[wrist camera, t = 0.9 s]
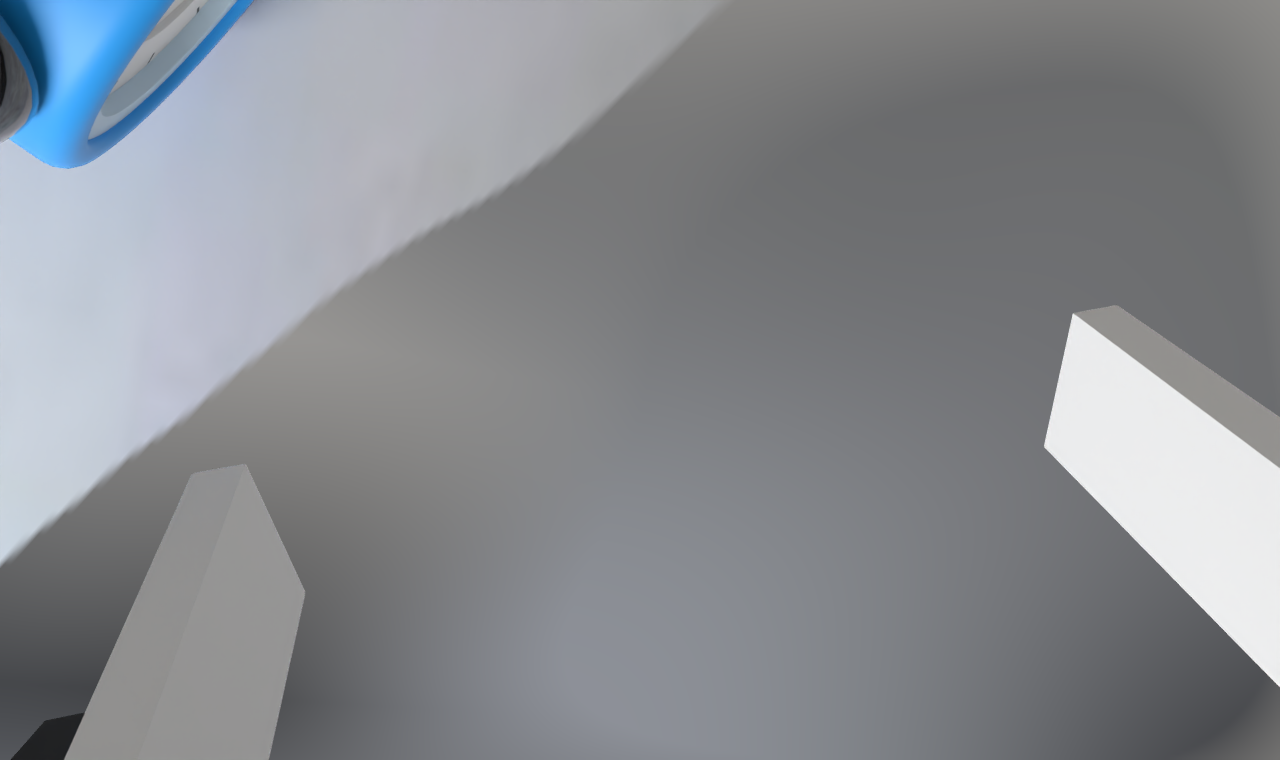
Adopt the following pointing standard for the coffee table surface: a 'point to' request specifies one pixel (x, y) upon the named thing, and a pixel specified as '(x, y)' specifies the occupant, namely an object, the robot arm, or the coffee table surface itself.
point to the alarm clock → (97, 68)
